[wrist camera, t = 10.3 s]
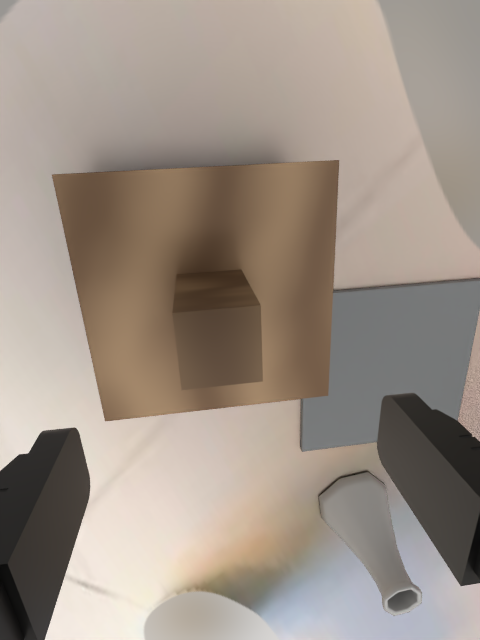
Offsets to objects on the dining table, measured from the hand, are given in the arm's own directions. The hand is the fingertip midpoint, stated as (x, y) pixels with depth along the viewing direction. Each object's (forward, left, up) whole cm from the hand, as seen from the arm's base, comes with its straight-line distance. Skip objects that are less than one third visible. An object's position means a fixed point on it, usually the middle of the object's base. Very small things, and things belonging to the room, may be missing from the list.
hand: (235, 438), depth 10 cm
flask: (-13, +25, -20) cm, 34 cm away
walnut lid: (0, 0, -13) cm, 13 cm away
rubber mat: (-15, +10, -19) cm, 27 cm away
